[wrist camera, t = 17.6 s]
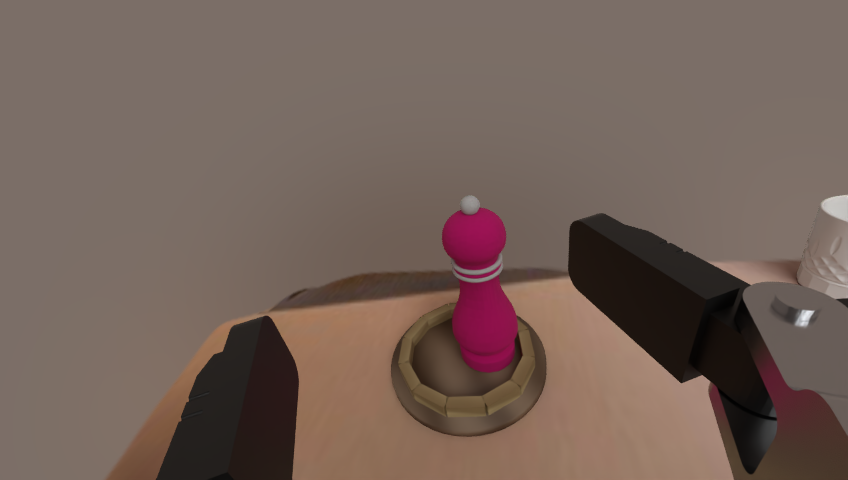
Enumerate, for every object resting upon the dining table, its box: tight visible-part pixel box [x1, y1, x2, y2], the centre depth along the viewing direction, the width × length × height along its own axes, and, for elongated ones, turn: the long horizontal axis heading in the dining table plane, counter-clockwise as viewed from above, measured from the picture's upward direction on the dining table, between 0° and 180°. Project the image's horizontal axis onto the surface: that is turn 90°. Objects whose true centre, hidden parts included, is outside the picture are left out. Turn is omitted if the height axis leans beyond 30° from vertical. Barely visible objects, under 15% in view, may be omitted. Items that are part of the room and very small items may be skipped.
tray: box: [391, 303, 546, 437], centre depth 40 cm, size 18×18×2 cm
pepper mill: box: [442, 196, 518, 373], centre depth 35 cm, size 7×7×20 cm
